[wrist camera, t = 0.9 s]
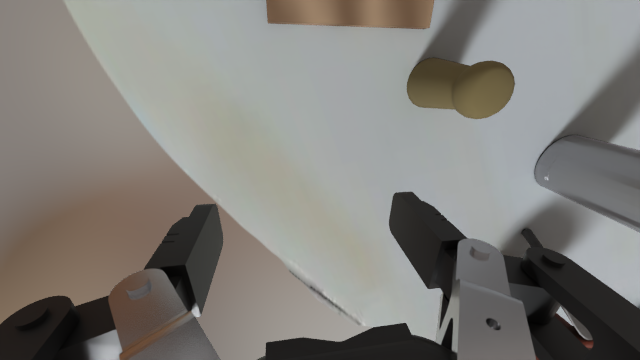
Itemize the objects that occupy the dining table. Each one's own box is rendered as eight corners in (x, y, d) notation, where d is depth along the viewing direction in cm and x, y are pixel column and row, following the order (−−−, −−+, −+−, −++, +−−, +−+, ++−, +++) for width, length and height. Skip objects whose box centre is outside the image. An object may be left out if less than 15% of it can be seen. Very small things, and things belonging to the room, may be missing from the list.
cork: (411, 57, 30) (475, 54, 20) (456, 57, 31) (538, 55, 21) (403, 107, 33) (456, 127, 23) (445, 107, 33) (513, 125, 24)
